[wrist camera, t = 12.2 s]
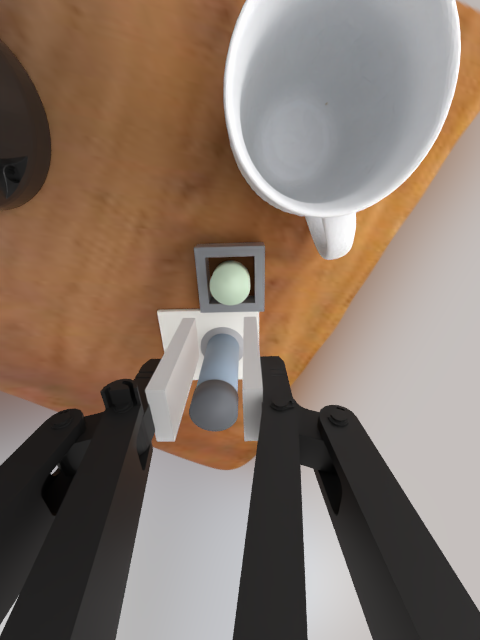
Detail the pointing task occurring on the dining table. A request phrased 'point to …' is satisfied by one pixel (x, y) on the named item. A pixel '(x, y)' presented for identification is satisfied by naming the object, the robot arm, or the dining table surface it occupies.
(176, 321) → the white flat plate
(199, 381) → the capped blue-grey cylinder
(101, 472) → the robot arm
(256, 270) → the button housing
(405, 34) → the mug
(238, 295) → the button
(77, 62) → the dining table surface
